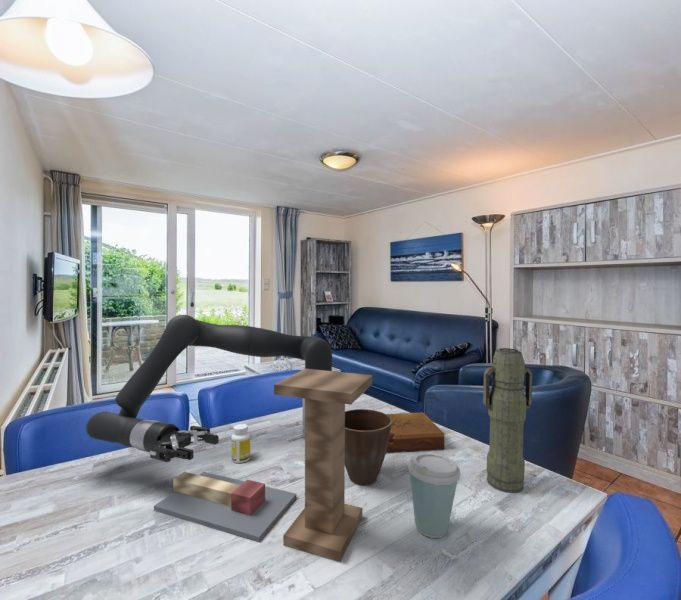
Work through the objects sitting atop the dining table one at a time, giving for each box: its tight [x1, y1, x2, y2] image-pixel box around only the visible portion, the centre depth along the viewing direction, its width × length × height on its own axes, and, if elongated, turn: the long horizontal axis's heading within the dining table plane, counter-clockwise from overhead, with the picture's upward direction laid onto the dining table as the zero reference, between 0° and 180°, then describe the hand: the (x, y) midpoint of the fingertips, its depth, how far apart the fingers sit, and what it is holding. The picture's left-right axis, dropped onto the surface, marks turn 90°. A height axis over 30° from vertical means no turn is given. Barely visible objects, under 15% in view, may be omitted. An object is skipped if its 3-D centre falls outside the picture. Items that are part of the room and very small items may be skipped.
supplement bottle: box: [230, 423, 251, 464], centre depth 106 cm, size 5×5×10 cm
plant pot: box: [345, 408, 392, 486], centre depth 96 cm, size 15×15×16 cm
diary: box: [386, 411, 446, 453], centre depth 121 cm, size 23×19×6 cm
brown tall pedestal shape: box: [273, 368, 373, 563], centre depth 75 cm, size 16×14×32 cm
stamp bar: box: [172, 471, 266, 516], centre depth 86 cm, size 23×6×4 cm, turn 69°
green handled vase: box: [482, 347, 533, 494], centre depth 93 cm, size 9×12×35 cm
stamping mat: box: [153, 471, 297, 543], centre depth 85 cm, size 28×16×1 cm, turn 69°
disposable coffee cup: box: [407, 452, 461, 539], centre depth 76 cm, size 11×11×15 cm
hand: (205, 447), depth 86 cm, fingers open, 8 cm apart
